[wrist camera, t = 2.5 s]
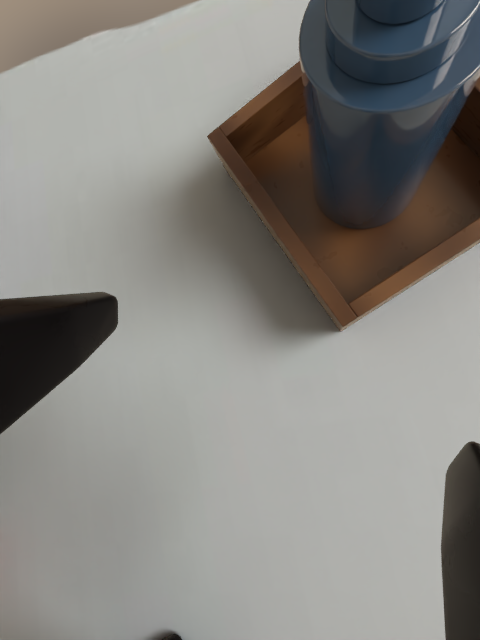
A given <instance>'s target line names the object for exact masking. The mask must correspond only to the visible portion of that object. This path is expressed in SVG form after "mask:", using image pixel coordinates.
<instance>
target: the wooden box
mask: <svg viewBox="0 0 480 640" xmlns="http://www.w3.org/2000/svg"><path fill="white" fill-rule="evenodd" d="M207 137H208V139H209V141H210V142H211V144H212V146H213V148H214V150H215V151H216V153H217V155H218V157H219V158H220V160H221V162H222V164H223V165H224V167H225V169H226V171H227V172H228V173H229V175H230V176H231V178H232V179H233V181H234V182H235V183H236V185H237V186H238V188H239V189H240V190H241V192H242V193H243V195H244V196H245V198H246V199H247V200H248V202H249V203H250V205H251V206H252V207H253V209H254V210H255V212H256V213H257V215H258V216H259V217H260V219H261V220H262V222H263V223H264V224H265V226H266V227H267V229H268V230H269V232H270V233H271V234H272V236H273V237H274V239H275V240H276V241H277V243H278V244H279V246H280V247H281V248H282V250H283V251H284V253H285V254H286V256H287V257H288V258H289V260H290V261H291V263H292V264H293V265H294V267H295V268H296V270H297V271H298V273H299V274H300V275H301V277H302V278H303V280H304V281H305V282H306V284H307V285H308V287H309V288H310V290H311V291H312V292H313V294H314V295H315V297H316V298H317V299H318V301H319V302H320V304H321V305H322V307H323V308H324V309H325V311H326V312H327V314H328V315H329V316H330V318H331V319H332V321H333V322H334V324H335V325H336V326H337V328H338V329H339V331H340V332H341V331H343V330H344V329H346V328H347V327H349V326H350V325H352V324H354V323H355V322H357V321H358V320H360V319H361V318H363V317H364V316H366V315H368V314H369V313H371V312H372V311H374V310H375V309H377V308H379V307H380V306H382V305H383V304H385V303H386V302H388V301H389V300H391V299H393V298H394V297H396V296H397V295H399V294H400V293H402V292H403V291H405V290H407V289H408V288H410V287H411V286H413V285H414V284H416V283H418V282H419V281H421V280H422V279H424V278H425V277H427V276H428V275H430V274H432V273H433V272H435V271H436V270H438V269H439V268H441V267H442V266H444V265H446V264H447V263H449V262H450V261H452V260H453V259H455V258H457V257H458V256H460V255H461V254H463V253H464V252H466V251H467V250H469V249H471V248H472V247H474V246H475V245H477V244H478V243H480V77H479V79H478V81H477V83H476V84H475V86H474V88H473V90H472V92H471V94H470V95H469V97H468V99H467V101H466V103H465V105H464V106H463V108H462V110H461V112H460V114H459V116H458V117H457V119H456V121H455V123H454V125H453V127H452V128H451V130H450V132H449V134H448V136H447V138H446V139H445V141H444V143H443V145H442V147H441V149H440V150H439V152H438V154H437V156H436V158H435V160H434V161H433V163H432V165H431V167H430V169H429V171H428V172H427V174H426V176H425V178H424V180H423V182H422V183H421V185H420V187H419V189H418V191H417V192H416V194H415V196H414V198H413V200H412V201H411V203H410V204H409V206H408V207H407V208H406V209H405V210H404V211H403V212H402V213H401V214H400V215H399V216H397V217H396V218H395V219H393V220H391V221H390V222H388V223H386V224H383V225H381V226H378V227H374V228H369V229H353V228H347V227H344V226H341V225H339V224H337V223H335V222H333V221H332V220H330V219H329V218H328V217H326V216H325V215H324V213H323V212H322V211H321V210H320V208H319V207H318V205H317V203H316V200H315V197H314V193H313V184H312V174H311V164H310V154H309V144H308V135H307V125H306V115H305V105H304V95H303V85H302V75H301V65H300V61H299V62H298V63H296V64H295V65H294V66H293V67H292V68H290V69H289V70H288V71H287V72H285V73H284V74H283V75H282V76H280V77H279V78H278V79H277V80H276V81H274V82H273V83H272V84H271V85H269V86H268V87H267V88H266V89H265V90H263V91H262V92H261V93H260V94H258V95H257V96H256V97H255V98H253V99H252V100H251V101H250V102H249V103H247V104H246V105H245V106H244V107H242V108H241V109H240V110H239V111H237V112H236V113H235V114H234V115H233V116H231V117H230V118H229V119H228V120H226V121H225V122H224V123H223V124H221V125H220V126H219V127H218V128H217V129H215V130H214V131H213V132H212V133H210V134H209V135H208V136H207Z"/></svg>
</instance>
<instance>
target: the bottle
mask: <svg viewBox="0 0 480 640" xmlns="http://www.w3.org/2000/svg"><path fill="white" fill-rule="evenodd" d="M299 55H300V65H301V75H302V85H303V95H304V105H305V115H306V125H307V135H308V144H309V154H310V164H311V174H312V184H313V193H314V197H315V200H316V203H317V205H318V207H319V208H320V210H321V211H322V212H323V213H324V215H325V216H326V217H328V218H329V219H330V220H332V221H333V222H335V223H337V224H339V225H341V226H344V227H347V228H353V229H369V228H374V227H378V226H381V225H383V224H386V223H388V222H390V221H391V220H393V219H395V218H396V217H397V216H399V215H400V214H401V213H402V212H403V211H404V210H405V209H406V208H407V207H408V206H409V204H410V203H411V201H412V200H413V198H414V196H415V194H416V192H417V191H418V189H419V187H420V185H421V183H422V182H423V180H424V178H425V176H426V174H427V172H428V171H429V169H430V167H431V165H432V163H433V161H434V160H435V158H436V156H437V154H438V152H439V150H440V149H441V147H442V145H443V143H444V141H445V139H446V138H447V136H448V134H449V132H450V130H451V128H452V127H453V125H454V123H455V121H456V119H457V117H458V116H459V114H460V112H461V110H462V108H463V106H464V105H465V103H466V101H467V99H468V97H469V95H470V94H471V92H472V90H473V88H474V86H475V84H476V83H477V81H478V79H479V77H480V0H310V2H309V4H308V6H307V9H306V11H305V14H304V16H303V20H302V23H301V27H300V34H299Z"/></svg>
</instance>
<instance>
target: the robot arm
mask: <svg viewBox="0 0 480 640" xmlns="http://www.w3.org/2000/svg"><path fill="white" fill-rule="evenodd" d="M117 324H118V301H117V299H116V297H114V296H112V295H110V294H107V293H105V292H94V293H80V294H67V295H53V296H39V297H26V298H12V299H0V434H1V433H2V432H3V431H5V430H6V429H7V428H8V427H9V426H11V425H12V424H13V423H14V422H15V421H16V420H18V419H19V418H20V417H21V416H22V415H23V414H25V413H26V412H27V411H28V410H29V409H31V408H32V407H33V406H34V405H35V404H36V403H38V402H39V401H40V400H41V399H42V398H43V397H45V396H46V395H47V394H48V393H49V392H50V391H52V390H53V389H54V388H55V387H56V386H58V385H59V384H60V383H61V382H62V381H63V380H65V379H66V378H67V377H68V376H69V375H70V374H72V373H73V372H74V371H75V370H76V369H77V368H78V367H79V366H80V365H81V364H83V363H84V362H85V361H86V359H87V358H88V357H89V356H90V355H91V354H92V353H93V352H94V351H95V350H96V349H97V348H98V347H99V346H100V345H101V344H102V343H103V342H104V341H105V340H106V339H107V338H108V337H109V336H110V335H111V334H112V333H113V332H114V330H115V329H116V327H117ZM441 557H442V578H443V597H444V616H445V635H446V640H480V444H479V443H476V442H473V441H472V442H468V443H467V444H466V445H465V446H464V447H463V448H462V450H461V451H460V452H459V454H458V455H457V456H456V458H455V459H454V460H453V461H452V463H451V464H450V466H449V467H448V470H447V473H446V481H445V496H444V510H443V524H442V540H441ZM162 640H182V639H181V637H180V636H178V635H176V634H173V635H170V636H168V637H166V638H164V639H162Z"/></svg>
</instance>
